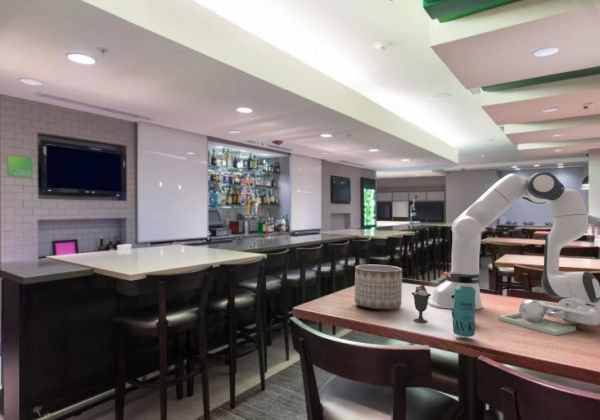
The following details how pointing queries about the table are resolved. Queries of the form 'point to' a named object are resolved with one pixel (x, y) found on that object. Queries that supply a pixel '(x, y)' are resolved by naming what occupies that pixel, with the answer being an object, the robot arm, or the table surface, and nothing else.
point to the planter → (378, 286)
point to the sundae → (421, 301)
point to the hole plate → (539, 324)
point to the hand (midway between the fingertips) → (550, 314)
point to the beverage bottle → (464, 308)
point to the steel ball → (531, 311)
